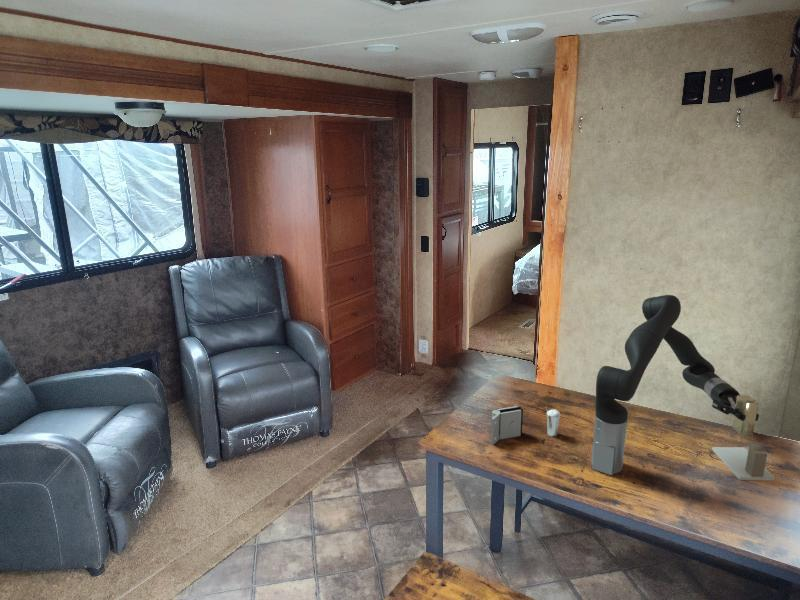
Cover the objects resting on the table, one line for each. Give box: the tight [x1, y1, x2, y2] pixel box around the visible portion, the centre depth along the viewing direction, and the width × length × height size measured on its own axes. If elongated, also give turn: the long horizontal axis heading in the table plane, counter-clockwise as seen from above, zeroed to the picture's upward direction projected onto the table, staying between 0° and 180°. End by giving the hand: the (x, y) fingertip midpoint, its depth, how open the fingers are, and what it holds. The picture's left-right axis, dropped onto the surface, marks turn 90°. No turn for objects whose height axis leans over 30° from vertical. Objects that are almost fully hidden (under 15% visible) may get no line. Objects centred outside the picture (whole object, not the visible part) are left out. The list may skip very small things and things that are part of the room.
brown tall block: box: [732, 394, 759, 438], centre depth 166 cm, size 7×3×11 cm, turn 176°
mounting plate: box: [712, 441, 776, 481], centre depth 167 cm, size 16×10×10 cm, turn 176°
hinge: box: [490, 405, 524, 446], centre depth 186 cm, size 14×5×10 cm, turn 118°
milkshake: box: [544, 405, 561, 437], centre depth 187 cm, size 4×5×10 cm
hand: (750, 418), depth 163 cm, fingers closed on brown tall block, 3 cm apart
